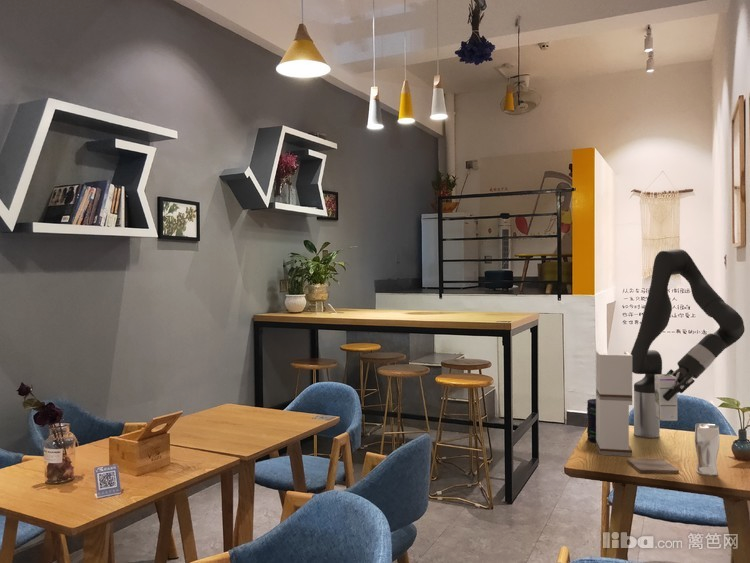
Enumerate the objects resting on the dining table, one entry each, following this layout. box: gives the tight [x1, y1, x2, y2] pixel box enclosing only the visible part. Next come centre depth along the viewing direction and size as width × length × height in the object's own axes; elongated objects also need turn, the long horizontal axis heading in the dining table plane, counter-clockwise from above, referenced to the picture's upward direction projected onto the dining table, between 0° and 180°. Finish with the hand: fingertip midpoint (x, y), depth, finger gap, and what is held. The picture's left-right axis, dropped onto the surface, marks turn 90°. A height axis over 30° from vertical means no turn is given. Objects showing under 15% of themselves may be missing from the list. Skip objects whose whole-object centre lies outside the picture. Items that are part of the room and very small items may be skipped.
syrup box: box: [655, 373, 678, 422], centre depth 206 cm, size 6×6×14 cm
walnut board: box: [626, 458, 680, 474], centre depth 202 cm, size 12×12×1 cm
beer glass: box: [694, 422, 720, 477], centre depth 196 cm, size 7×7×15 cm
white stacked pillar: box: [595, 350, 633, 457], centre depth 221 cm, size 11×11×35 cm
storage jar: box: [586, 398, 596, 444], centre depth 234 cm, size 10×10×15 cm
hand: (660, 396), depth 206 cm, fingers closed on syrup box, 6 cm apart
